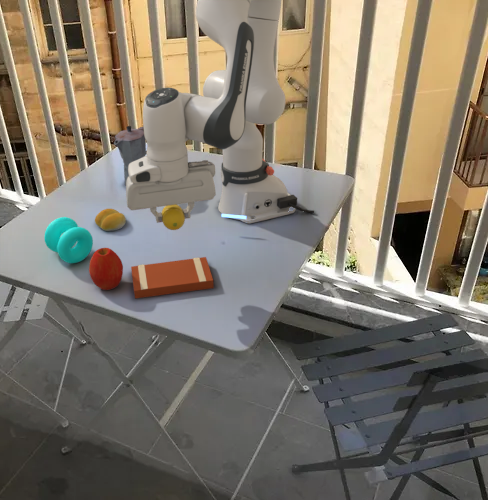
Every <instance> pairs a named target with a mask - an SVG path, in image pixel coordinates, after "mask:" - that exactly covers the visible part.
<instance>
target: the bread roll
mask: <svg viewBox="0 0 488 500" xmlns="http://www.w3.org/2000/svg"><path fill="white" fill-rule="evenodd" d="M126 219H127V218H126V216H125V214H124V213H122V212H119V211H118V210H117V209H115V208H105V209H102V210H101V211H99V212H98V213H97V214H96V215H95V218H94V223H95V225H96V226H97V227H98V228H100V229H101V230H103V231H105V232H113V231H117V230H120V229H122V228H123V227H124V226H125V224H126V221H127V220H126Z"/></svg>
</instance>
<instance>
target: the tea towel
mask: <svg viewBox="0 0 488 500" xmlns="http://www.w3.org/2000/svg"><path fill="white" fill-rule="evenodd" d="M130 269H131V277H132V278H131V279H132V287H133V295H134V299H141V298H149V297H150V298H151V297H158V296H164V295H165V296H166V295H172V294H179V293H186V292H188V293H189V292H195V291H202V290H209V289H214V278H213V275H212V272H211V269H210V265H209V262H208V259H207V256H203V257H199V256H197V257H193V258H186V259H178V260H172V261H171V260H170V261H163V262H156V263H148V264H138V265H133V266H131V267H130Z"/></svg>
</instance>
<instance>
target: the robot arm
mask: <svg viewBox="0 0 488 500" xmlns="http://www.w3.org/2000/svg"><path fill="white" fill-rule="evenodd" d="M281 9H282V0H197V2H196V7H195V19H196V22H197V24H198V27H199V29H200V30H201V32H202V33H203V34H204V35H205V36H206V37H208V38H209V39H210V40H212V41H213V42H214V43H216V44H217V45H219V46H220V47H222V48H223V49H224V51H225V54H226V67H225V69H218V70H214V71H212V72H211V73H210V74H209V75H207V76H206V79H205V81H204V83H203V87H202V95H200V94H195V93H190V92H180V91H179V90H177V89H176V88H174V87H161V88H157V89H154V90H152V91H151V92H149V93H148V94H147V95H146V96H145V98H144V101H143V106H142V127H144V136H145V139H146V151H147V154H146V155H145V156H144V157H142V158H140V159H138V160H136V161H133V162H131V163H130V164H129V166H128V174H129V176H128V178H127V181H126V186H125V199H126V206H127V208H128V209H129V210H130V211H138V210H144V209H145V210H146V209H149V210H150V213H151V214H152V215H153V216H154V217H155V222H156V223H157V224H159V223H163V221H162V211H160V212H158V211H157V208H161V207H165V206H168V205H182V204H183V205H184V204H187V206H186V208H182V210H183V213H184V216H185V220H187V219H191V212H192V211H193V209H194V207H195V203H197V202H204V201H211V200H214V198H215V197H216V195H217V194H216V185H215V180H214V177H215V176H216V165H215V163H213V162H212V161H209V160H208V159H204V160H199V161H197V160H196V161H189V157H188V156H189V155H188V148H187V144H186V142H187V141H189V140H190V141H194V142H197V143H203V144H206V145H207V146H211V147H213V148H216V149H219V150H221V151H222V162H221V166H220V167H221V169H220V180H221V184H222V185H221V195H220V199H219V203H218V207H217V210H218V211H219V213H220V214H221V218H230V219H232V220H233V219H234V220H237V221H241V222H243V223H245V224H254V223H257V222H263V221H266V220H270V219H275V218H279V217H283V216H287V215H292V214H295V213H296V211H297V210H298V211H300V212H302V211H304V212H303V213H307V214H315V210H314V209H313V210H311V209H304V208H302V207H299V206H297V205H298V197H297V196H295V194H291V193H289V192H288V189H287V186H286V184H285V183H284V182H283V180H281V179H280V178H279V177H277V176H276V175H274V174H275V170H274V168H273V167H272V166H270V164H269V163H268V162H267V161H266V160H265V159H264V158H263V157H264V156H263V155H264V152H263V150H264V139H263V135H262V133H261V131H260V130H259V129H258V127H257V126H256V124H257V125H272V124H274V123H276V122H277V121H278V120H279V119H280V118H281V117H282V115H283V113H284V111H285V108H286V100H287V99H286V95H285V92H284V90H283V89H282V87H281V85H280V83H279V80H278V78H277V74H276V70H275V62H274V61H275V58H274V57H275V56H274V55H275V45H276V40H277V39H276V38H277V33H278V27H279V21H280V15H281ZM290 207H293V208H295V209H294V210H293V211H289V208H290ZM288 211H289V212H288Z"/></svg>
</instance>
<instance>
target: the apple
mask: <svg viewBox="0 0 488 500" xmlns="http://www.w3.org/2000/svg"><path fill="white" fill-rule="evenodd" d="M88 272H89V277H90V279H91V281H92V282H93V284H94V285H95V286H96V287H97V288H99V289H100V290H103V291H110V290H114V289H115V288H117V287H118V286H119V285H120V284H121V281H122V278H123V275H124V265H123V262H122V260H121V258H120V256H119V255H118V253H117V252H115V251H114V250H113V249H112V248H109V247H100V248H97V249H96V250H95V251H94V252H93V254H92V256H91V258H90V260H89V266H88Z"/></svg>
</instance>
